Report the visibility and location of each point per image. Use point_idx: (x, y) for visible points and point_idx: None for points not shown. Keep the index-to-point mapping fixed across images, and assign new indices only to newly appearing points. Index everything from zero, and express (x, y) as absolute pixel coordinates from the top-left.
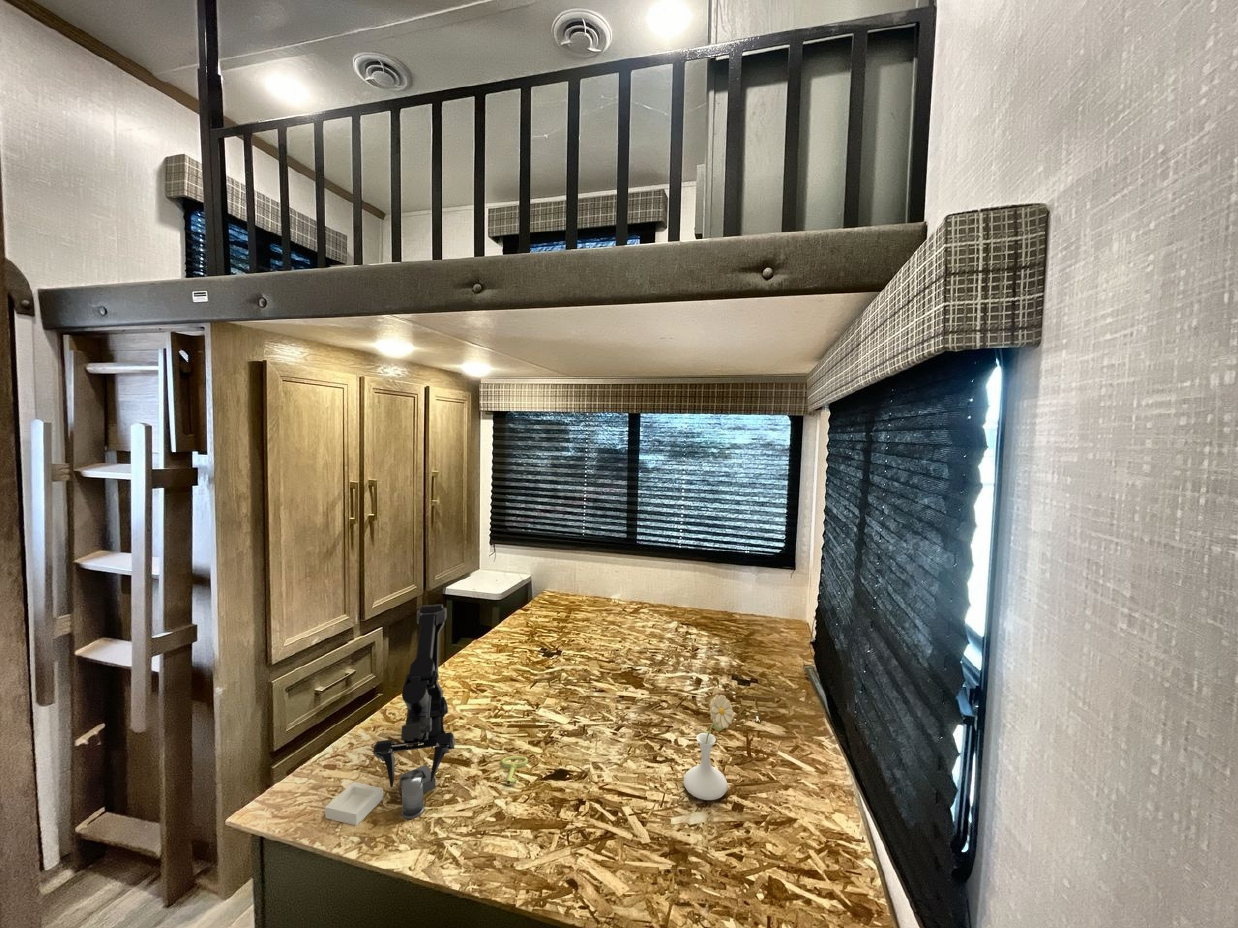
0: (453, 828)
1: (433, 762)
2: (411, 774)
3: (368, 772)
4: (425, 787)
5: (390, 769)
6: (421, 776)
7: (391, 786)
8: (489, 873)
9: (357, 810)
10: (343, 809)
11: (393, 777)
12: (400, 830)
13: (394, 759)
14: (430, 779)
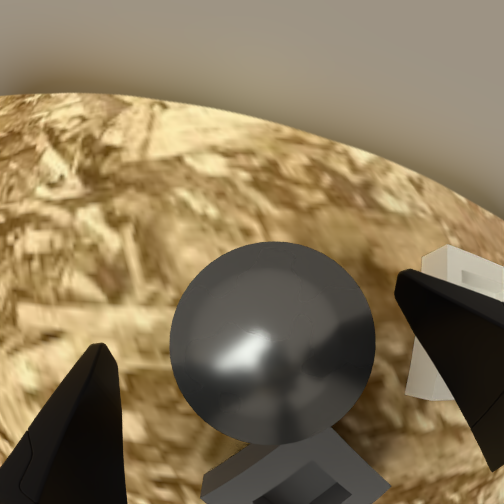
0: (59, 243)
1: (51, 454)
2: (298, 376)
3: (474, 473)
4: (240, 461)
5: (498, 314)
6: (174, 347)
7: (401, 272)
8: (3, 126)
9: (453, 263)
10: (487, 268)
11: (432, 331)
12: (255, 233)
13: (498, 451)
14: (223, 490)
